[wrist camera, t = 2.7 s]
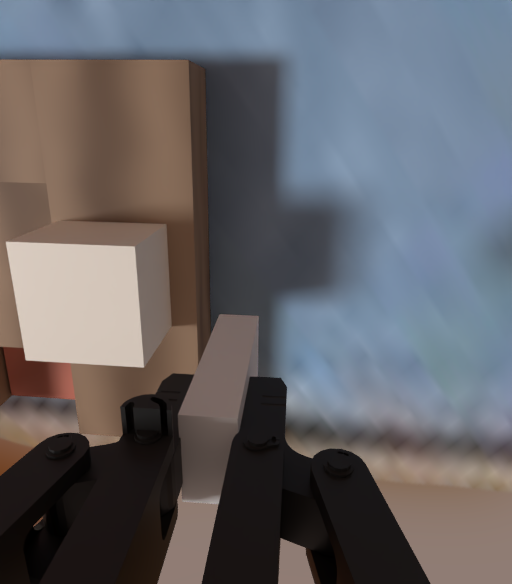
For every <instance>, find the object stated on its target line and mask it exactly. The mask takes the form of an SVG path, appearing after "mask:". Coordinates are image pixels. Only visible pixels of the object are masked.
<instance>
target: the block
mask: <svg viewBox="0 0 512 584" xmlns="http://www.w3.org/2000/svg"><path fill="white" fill-rule="evenodd" d="M6 247H7V253H8V259H9V264H10V270H11V276H12V282H13V288H14V294H15V300H16V306H17V312H18V318H19V323H20V329H21V335H22V341H23V347H24V353H25V359H26V360H28V361H44V362H60V363H77V364H93V365H109V366H125V367H141V368H144V367H145V365H146V364H147V362H148V361H149V359H150V358H151V356H152V355H153V353H154V352H155V350H156V349H157V347H158V346H159V344H160V343H161V341H162V340H163V338H164V337H165V335H166V334H167V332H168V331H169V329H170V328H171V326H172V322H171V302H170V283H169V263H168V244H167V224H150V223H120V222H90V221H61V220H60V221H57V222H55V223H52V224H50V225H47V226H44V227H42V228H39V229H37V230H34V231H32V232H29V233H26V234H24V235H21V236H19V237H16V238H14V239H11V240H9V241H6Z"/></svg>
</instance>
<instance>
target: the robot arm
mask: <svg viewBox="0 0 512 584" xmlns="http://www.w3.org/2000/svg"><path fill="white" fill-rule="evenodd" d="M258 337H259V316H250V315H228V314H219V317H218V319H217V321H216V324H215V326H214V329H213V331H212V333H211V336H210V338H209V341H208V343H207V345H206V348H205V350H204V353H203V355H202V358H201V360H200V362H199V365H198V367H197V370H196V372H195V374H176V373H172V374H171V375H170V376H168V377H167V378H166V379H164V380H163V381H162V382H161V384H160V386H159V388H158V390H157V392H156V394H145V395H140V396H136V397H133V398H131V399H129V400H127V401H125V402H124V403H123V404H122V405H121V406H120V411H121V421H122V431H123V435H122V436H121V438H120V440H119V441H118V442H116V443H111V444H107V445H100V446H94V447H90V446H89V441H88V440H87V438H86V437H85V436H83V435H81V434H78V433H63V434H58V435H55V436H52V437H49V438H47V439H46V440H44V441H43V442H41V443H39V444H38V445H37V446H36V447H35V448H33V449H32V450H31V451H30V452H29V453H27V454H26V455H25V456H24V457H23V458H21V459H20V460H19V461H18V462H17V463H15V464H14V465H13V466H12V467H11V468H9V469H8V470H7V471H6V472H5V473H3V474H2V475H1V476H0V584H157V583H158V580H159V576H160V573H161V569H162V566H163V563H164V559H165V556H166V553H167V550H168V547H169V543H170V540H171V537H172V533H173V530H174V527H175V524H176V520H177V516H178V504H177V499H178V496H179V493H180V490H181V488H182V501H183V502H197V503H211V504H219V505H218V510H217V515H216V520H215V524H214V529H213V533H212V538H211V543H210V547H209V552H208V557H207V562H206V566H205V571H204V575H203V581H202V584H278V575H279V555H280V538H282V539H285V540H287V541H290V542H292V543H295V544H298V545H300V546H303V547H305V548H306V555H307V559H308V562H309V566H310V569H311V572H312V576H313V579H314V583H315V584H430V582H429V580H428V578H427V576H426V574H425V573H424V571H423V569H422V567H421V565H420V564H419V562H418V560H417V558H416V556H415V554H414V553H413V550H412V549H411V547H410V545H409V543H408V541H407V539H406V538H405V536H404V534H403V532H402V530H401V528H400V527H399V525H398V523H397V521H396V519H395V517H394V516H393V514H392V512H391V510H390V508H389V507H388V504H387V503H386V501H385V499H384V497H383V495H382V493H381V492H380V490H379V488H378V486H377V484H376V482H375V481H374V479H373V477H372V475H371V473H370V471H369V470H368V468H367V466H366V464H365V463H364V462H363V460H362V459H361V458H360V457H359V456H357V455H355V454H354V453H352V452H349V451H346V450H343V449H327V450H323V451H320V452H319V453H317V454H316V455H314V457H313V459H312V458H309V457H306V456H303V455H301V454H299V453H297V452H295V451H294V450H292V449H291V448H290V447H289V446H288V444H287V442H286V440H285V420H286V395H287V387H286V385H285V384H284V382H283V381H282V379H281V378H270V377H258ZM42 516H43V519H42V520H41V521H40V522H39V523H38V524H37V525H36V526H34V527H33V525H34V524H35V523H36V522H37V521H38V520H39V519H40V518H41V517H42Z"/></svg>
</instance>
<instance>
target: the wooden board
mask: <svg viewBox="0 0 512 584" xmlns="http://www.w3.org/2000/svg"><path fill="white" fill-rule="evenodd" d="M60 220H61V221H90V222H120V223H150V224H167V244H168V263H169V283H170V302H171V322H172V326H171V328H170V329H169V331H168V332H167V334H166V335H165V337H164V338H163V340H162V341H161V343H160V344H159V346H158V347H157V349H156V350H155V352H154V353H153V355H152V356H151V358H150V359H149V361H148V362H147V364H146V365H145V367H144V368H141V367H125V366H109V365H93V364H77V363H60V362H44V361H28V360H26V359H25V353H24V347H23V341H22V335H21V329H20V323H19V318H18V312H17V306H16V300H15V294H14V288H13V282H12V276H11V270H10V264H9V259H8V253H7V247H6V241H9V240H11V239H14V238H16V237H19V236H21V235H24V234H26V233H29V232H32V231H34V230H37V229H39V228H42V227H44V226H47V225H50V224H52V223H55V222H57V221H60ZM210 336H211V318H210V270H209V223H208V175H207V128H206V80H205V69H204V68H202V67H201V66H199V65H197V64H195V63H193V62H191V61H190V60H0V406H1V405H2V404H3V403H4V402H5V401H6V400H7V399H8V398H9V397H11V396H12V395H17V396H32V397H46V398H61V399H75V401H76V409H77V416H78V424H79V431H80V434H93V435H106V436H119V437H121V436H122V435H123V431H122V421H121V411H120V406H121V405H122V404H123V403H124V402H125V401H127V400H129V399H131V398H133V397H136V396H140V395H145V394H156V392H157V390H158V388H159V386H160V384H161V382H162V381H163V380H164V379H166V378H167V377H168V376H170V375H171V374H172V373H176V374H195V372H196V370H197V367H198V365H199V362H200V360H201V358H202V355H203V353H204V350H205V348H206V345H207V343H208V341H209V338H210Z"/></svg>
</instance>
